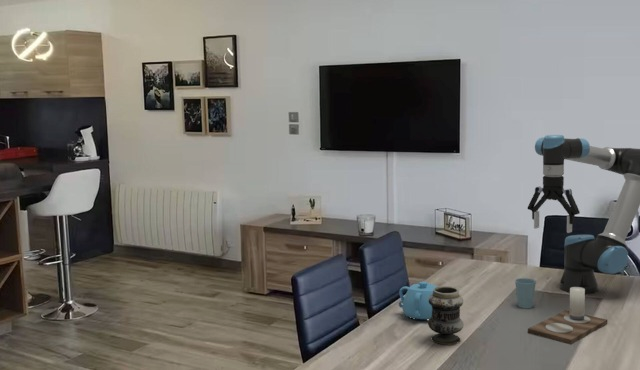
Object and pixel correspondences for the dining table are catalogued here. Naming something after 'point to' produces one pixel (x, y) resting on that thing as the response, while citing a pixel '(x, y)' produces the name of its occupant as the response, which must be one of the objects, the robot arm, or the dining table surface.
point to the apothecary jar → (445, 314)
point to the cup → (525, 292)
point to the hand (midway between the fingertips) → (552, 230)
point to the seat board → (567, 327)
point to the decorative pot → (417, 300)
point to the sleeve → (577, 303)
